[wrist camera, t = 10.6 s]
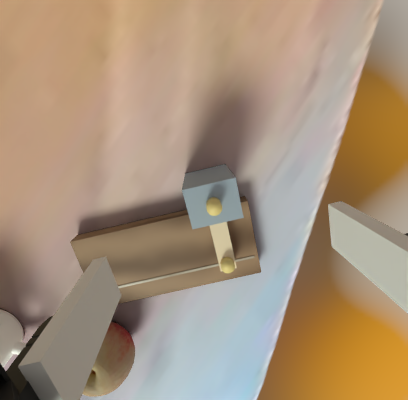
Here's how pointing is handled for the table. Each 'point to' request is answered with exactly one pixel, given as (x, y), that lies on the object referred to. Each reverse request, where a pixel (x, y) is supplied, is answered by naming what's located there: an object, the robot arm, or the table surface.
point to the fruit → (111, 362)
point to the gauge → (214, 207)
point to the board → (167, 253)
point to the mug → (10, 337)
